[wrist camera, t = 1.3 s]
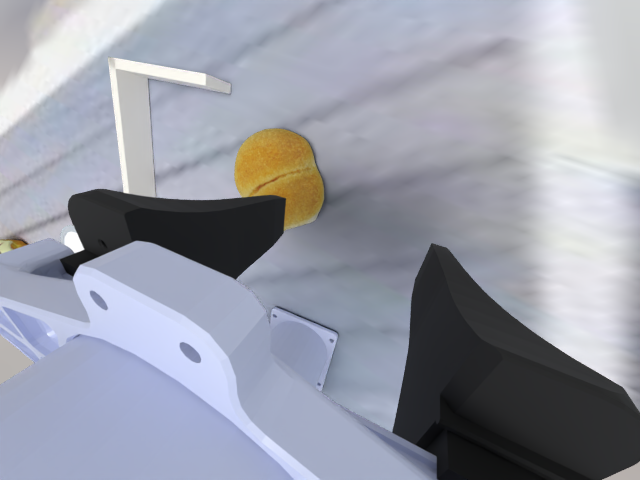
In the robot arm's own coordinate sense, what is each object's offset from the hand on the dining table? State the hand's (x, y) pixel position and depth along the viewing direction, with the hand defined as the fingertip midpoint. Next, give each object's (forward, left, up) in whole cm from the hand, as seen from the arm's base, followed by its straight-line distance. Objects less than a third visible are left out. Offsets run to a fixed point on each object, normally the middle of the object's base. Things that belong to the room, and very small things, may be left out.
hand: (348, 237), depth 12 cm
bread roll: (-1, +9, -11) cm, 14 cm away
